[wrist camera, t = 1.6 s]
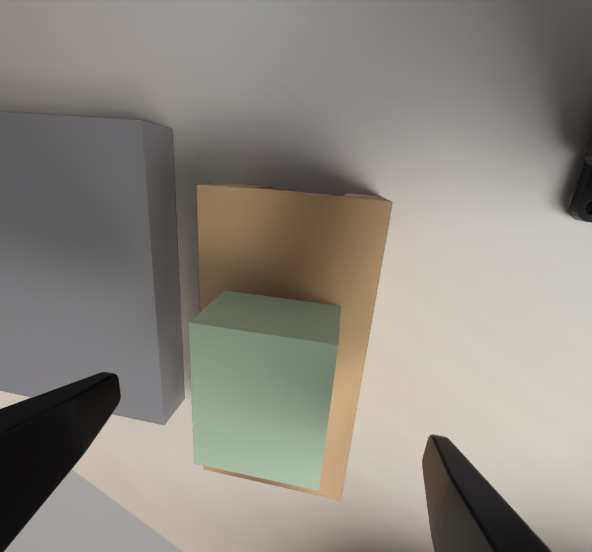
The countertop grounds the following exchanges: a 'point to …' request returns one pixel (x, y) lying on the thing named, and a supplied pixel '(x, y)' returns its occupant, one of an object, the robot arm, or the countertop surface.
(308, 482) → the pale green block
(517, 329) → the countertop surface
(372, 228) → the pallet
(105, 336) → the dock
